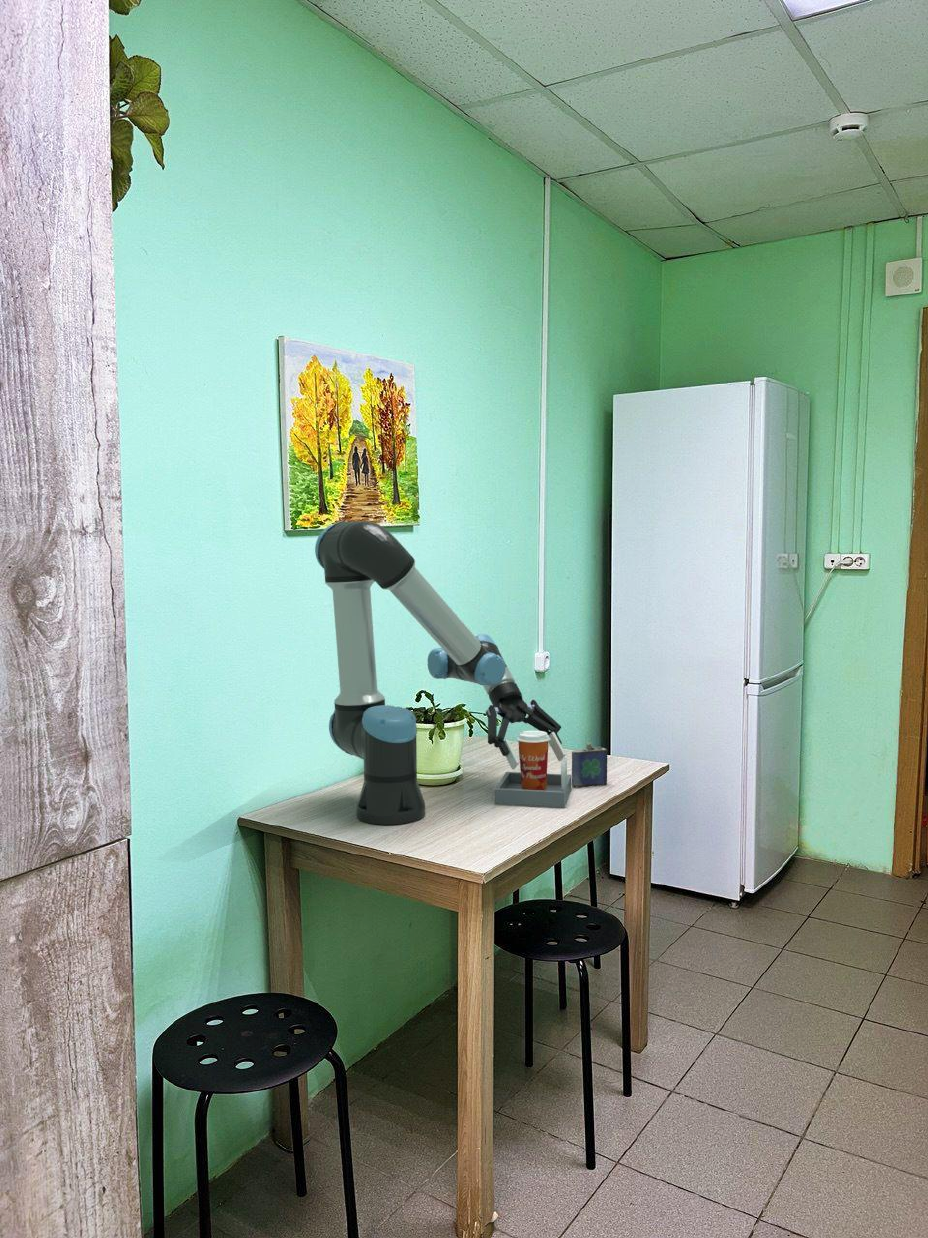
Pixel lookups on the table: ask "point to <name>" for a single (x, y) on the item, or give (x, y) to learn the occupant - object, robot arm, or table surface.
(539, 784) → the paper cup
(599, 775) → the flask
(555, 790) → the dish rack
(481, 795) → the table surface
